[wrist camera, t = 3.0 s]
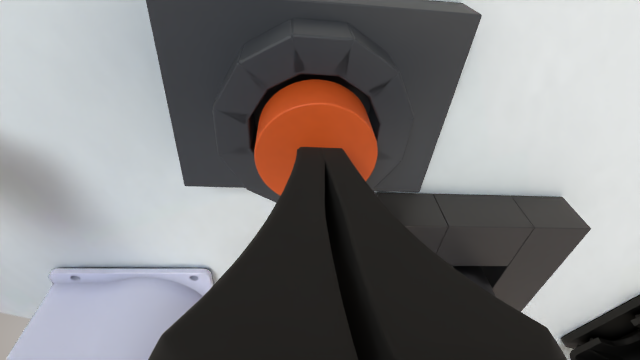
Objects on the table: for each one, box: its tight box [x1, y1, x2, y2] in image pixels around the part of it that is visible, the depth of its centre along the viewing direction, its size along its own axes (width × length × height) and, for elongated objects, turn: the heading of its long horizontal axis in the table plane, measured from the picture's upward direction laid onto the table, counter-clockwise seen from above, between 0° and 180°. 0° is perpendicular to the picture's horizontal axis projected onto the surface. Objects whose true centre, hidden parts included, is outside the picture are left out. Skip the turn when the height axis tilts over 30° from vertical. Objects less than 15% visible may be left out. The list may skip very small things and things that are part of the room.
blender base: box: [377, 193, 591, 312], centre depth 22 cm, size 11×11×2 cm
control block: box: [146, 0, 481, 203], centre depth 14 cm, size 11×8×4 cm
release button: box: [254, 79, 378, 196], centre depth 12 cm, size 4×4×2 cm
